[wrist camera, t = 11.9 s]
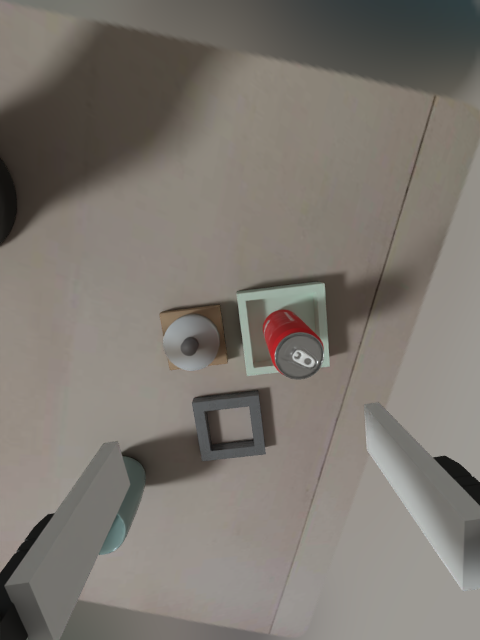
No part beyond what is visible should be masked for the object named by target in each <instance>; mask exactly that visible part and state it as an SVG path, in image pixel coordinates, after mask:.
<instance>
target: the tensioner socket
mask: <svg viewBox="0 0 480 640" xmlns="http://www.w3.org/2000/svg"><path fill="white" fill-rule="evenodd" d="M192 406H193V411H194V417H195V423H196V429H197V435H198V440H199V446H200V452H201V458H202V461H208V460H217V459H226V458H236V457H245V456H254V455H263V454H266V452H265V444H264V436H263V427H262V419H261V411H260V402H259V394H258V391H250V392H241V393H232V394H224V395H215V396H206V397H198V398H194V399H193V402H192ZM247 406H249V407H250V415H251V423H252V431H253V439H254V440H250V441H241V442H232V443H223V444H214V445H212V444H211V438H210V432H209V425H208V419H207V413H206V411H212V410H221V409H229V408H238V407H247Z"/></svg>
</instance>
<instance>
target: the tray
mask: <svg viewBox="0 0 480 640" xmlns="http://www.w3.org/2000/svg"><path fill="white" fill-rule="evenodd" d="M237 301H238V309H239V317H240V325H241V332H242V340H243V348H244V356H245V364H246V372H247V376H251V375H259V374H268V373H276V372H279V371H278V370H277V369H276V368H275V366H274V364H273V362H272V359H271V356H270V353H269V350H268V347H267V344H266V341H265V338H264V334H263V324H264V321H265V320H266V318H267V317H268V316H269V315H270V314H271V313H273V312H274V311H277V310H289V311H291V312H293V313H295V314H296V315H297V316H298V317H299V318H300V319H301V320H302V321H303V322H304V323H305V324H306V325H307V326H308V327H309V328H310V329H312V330H313V331H314V332H315V333H316V334H317V335H318V336H319V338H320V339H321V341H322V342H323V346H324V360H323V363H322V366H321V367H328V366H330V363H329V346H328V330H327V314H326V297H325V283H322V282H318V281H317V282H309V283H301V284H293V285H285V286H277V287H269V288H261V289H253V290H245V291H237Z"/></svg>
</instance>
